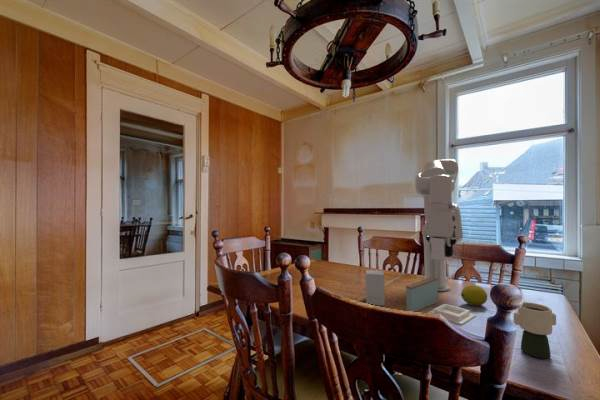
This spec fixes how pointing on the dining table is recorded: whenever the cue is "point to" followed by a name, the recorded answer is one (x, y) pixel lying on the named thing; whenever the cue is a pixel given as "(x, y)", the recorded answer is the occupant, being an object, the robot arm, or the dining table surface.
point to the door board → (422, 294)
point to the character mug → (535, 328)
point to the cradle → (454, 313)
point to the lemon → (474, 295)
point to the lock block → (439, 249)
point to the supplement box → (375, 287)
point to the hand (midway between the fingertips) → (441, 255)
